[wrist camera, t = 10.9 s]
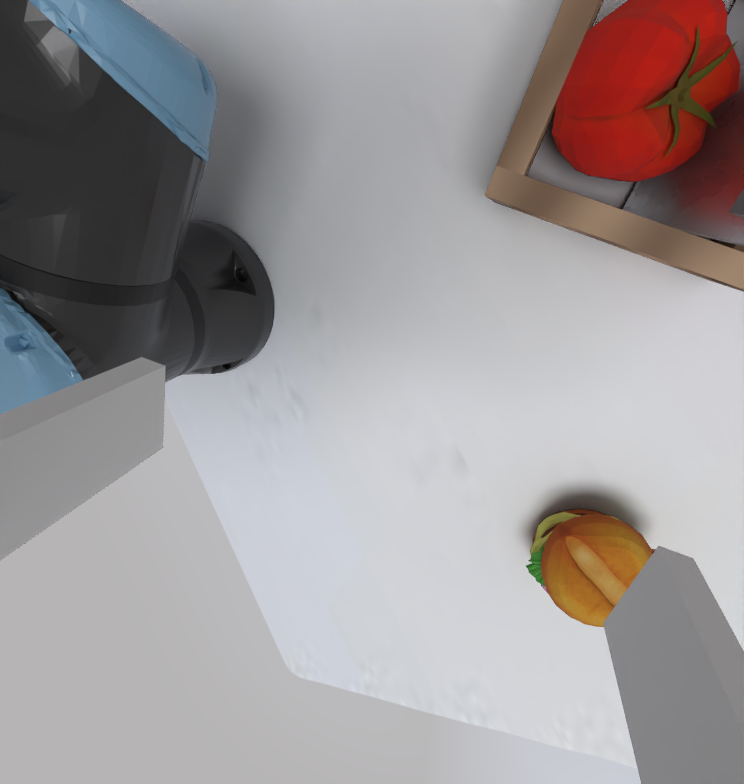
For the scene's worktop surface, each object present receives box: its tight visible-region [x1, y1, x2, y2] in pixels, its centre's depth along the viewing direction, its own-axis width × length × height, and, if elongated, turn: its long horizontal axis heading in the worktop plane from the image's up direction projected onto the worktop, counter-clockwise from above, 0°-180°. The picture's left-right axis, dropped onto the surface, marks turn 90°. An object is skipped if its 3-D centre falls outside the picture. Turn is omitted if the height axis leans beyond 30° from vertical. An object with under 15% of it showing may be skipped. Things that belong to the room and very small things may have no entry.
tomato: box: [552, 0, 740, 182], centre depth 26 cm, size 9×9×8 cm
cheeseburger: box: [526, 509, 656, 627], centre depth 40 cm, size 10×11×10 cm
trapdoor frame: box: [485, 0, 744, 292], centre depth 24 cm, size 17×17×12 cm
